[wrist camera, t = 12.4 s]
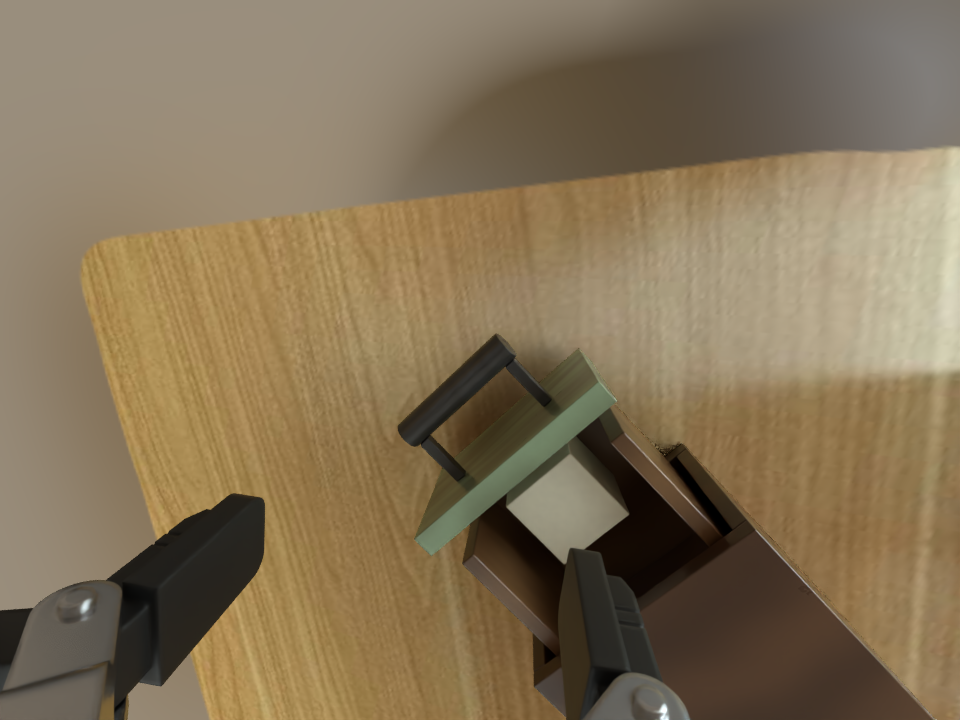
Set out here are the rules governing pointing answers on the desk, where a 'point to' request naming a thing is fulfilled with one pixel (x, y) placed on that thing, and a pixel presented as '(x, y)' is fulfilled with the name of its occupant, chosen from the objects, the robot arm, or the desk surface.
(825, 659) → the cabinet
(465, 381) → the drawer
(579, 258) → the desk surface
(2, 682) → the robot arm
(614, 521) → the block
